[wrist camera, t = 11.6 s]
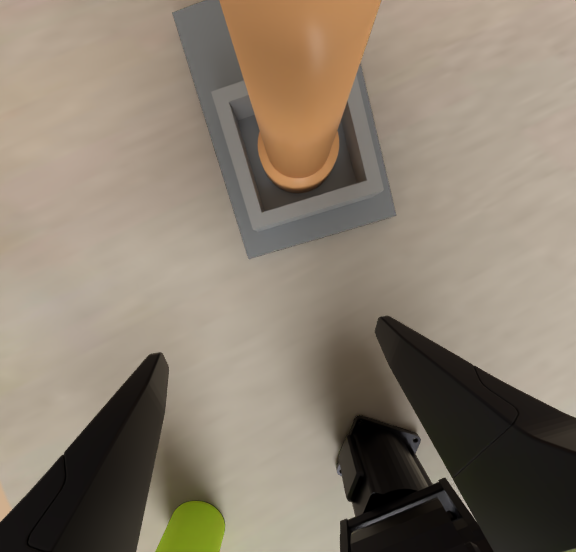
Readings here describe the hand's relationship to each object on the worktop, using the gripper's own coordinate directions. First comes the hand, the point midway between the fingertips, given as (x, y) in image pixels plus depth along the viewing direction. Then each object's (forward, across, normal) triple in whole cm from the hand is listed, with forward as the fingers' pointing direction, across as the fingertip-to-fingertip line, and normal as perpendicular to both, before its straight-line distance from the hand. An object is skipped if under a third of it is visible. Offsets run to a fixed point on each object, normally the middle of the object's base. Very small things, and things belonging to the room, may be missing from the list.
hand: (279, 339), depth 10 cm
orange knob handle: (+14, -4, -5) cm, 16 cm away
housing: (+17, -4, -7) cm, 19 cm away
